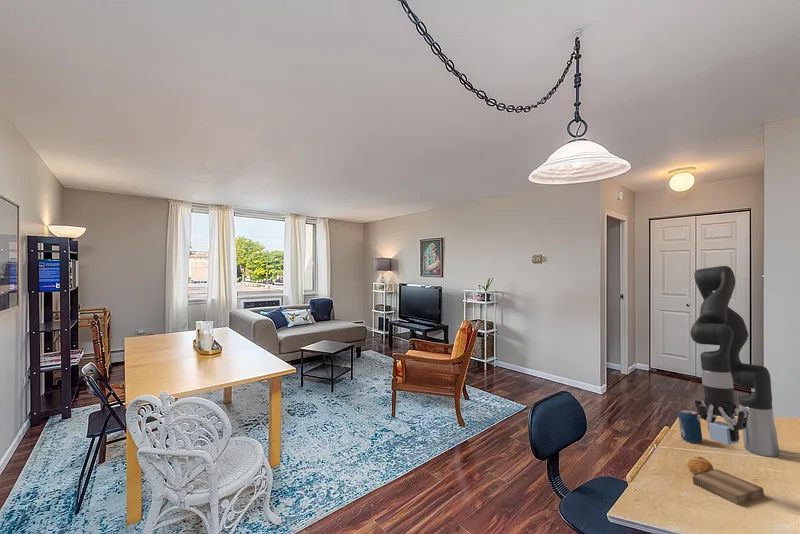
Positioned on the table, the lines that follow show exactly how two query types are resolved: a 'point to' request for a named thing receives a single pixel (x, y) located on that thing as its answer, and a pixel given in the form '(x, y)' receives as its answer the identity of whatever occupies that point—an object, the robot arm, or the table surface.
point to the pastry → (699, 465)
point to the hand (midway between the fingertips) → (723, 437)
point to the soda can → (690, 426)
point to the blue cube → (720, 432)
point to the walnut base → (728, 486)
